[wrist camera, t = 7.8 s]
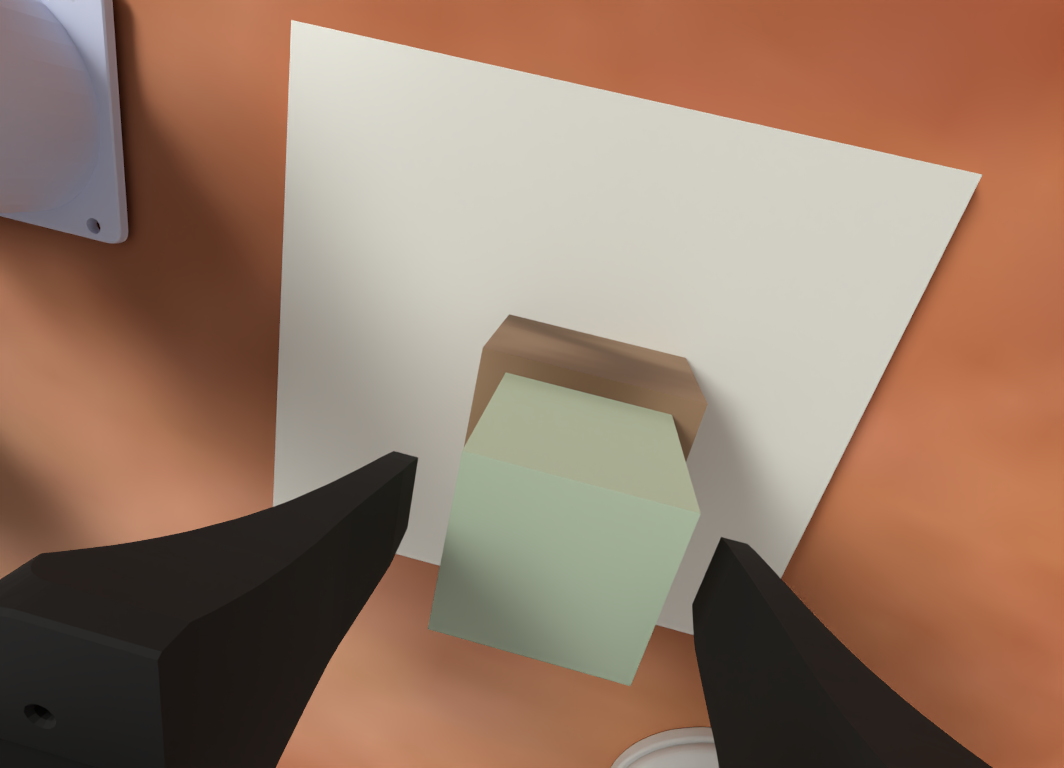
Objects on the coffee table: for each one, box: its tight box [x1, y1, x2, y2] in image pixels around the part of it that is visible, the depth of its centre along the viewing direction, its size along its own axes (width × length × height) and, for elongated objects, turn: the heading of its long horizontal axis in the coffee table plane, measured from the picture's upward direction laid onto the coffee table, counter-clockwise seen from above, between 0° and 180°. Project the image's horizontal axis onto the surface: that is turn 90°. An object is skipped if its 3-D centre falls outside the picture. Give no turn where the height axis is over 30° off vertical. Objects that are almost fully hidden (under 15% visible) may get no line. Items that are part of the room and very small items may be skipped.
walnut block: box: [464, 314, 708, 461], centre depth 17 cm, size 6×6×4 cm
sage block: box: [428, 373, 701, 686], centre depth 13 cm, size 4×4×4 cm
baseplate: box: [273, 20, 982, 635], centre depth 18 cm, size 20×18×1 cm
